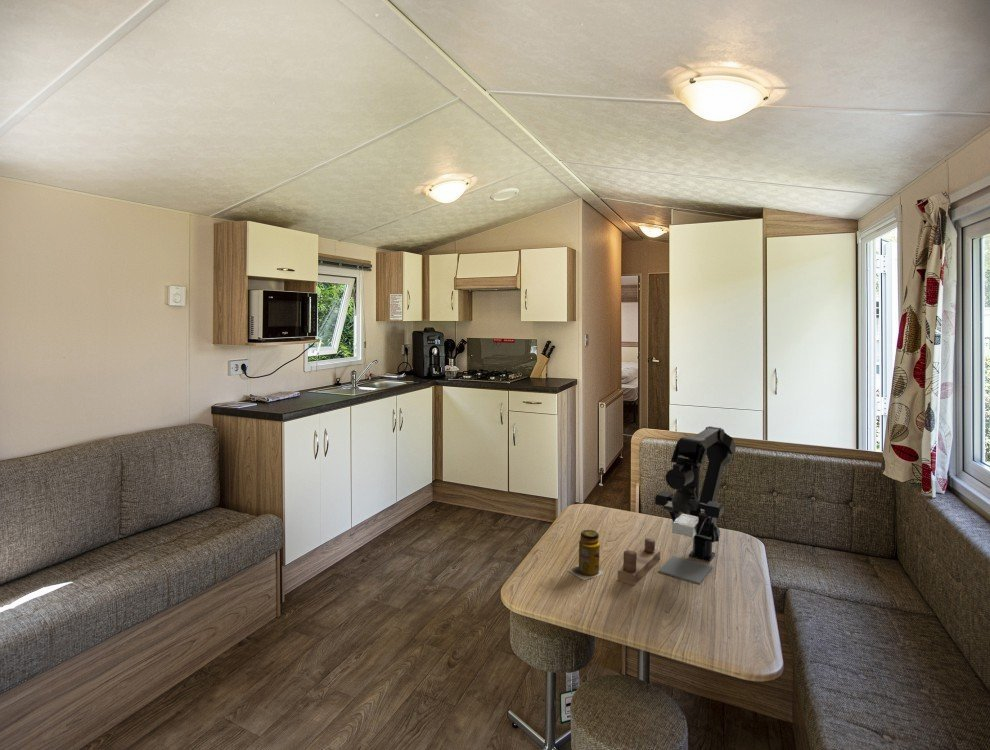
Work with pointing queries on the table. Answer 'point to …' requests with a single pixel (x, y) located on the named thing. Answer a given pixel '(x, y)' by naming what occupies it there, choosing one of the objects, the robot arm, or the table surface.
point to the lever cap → (685, 525)
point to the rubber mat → (685, 569)
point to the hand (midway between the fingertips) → (687, 531)
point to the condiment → (588, 556)
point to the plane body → (638, 563)
